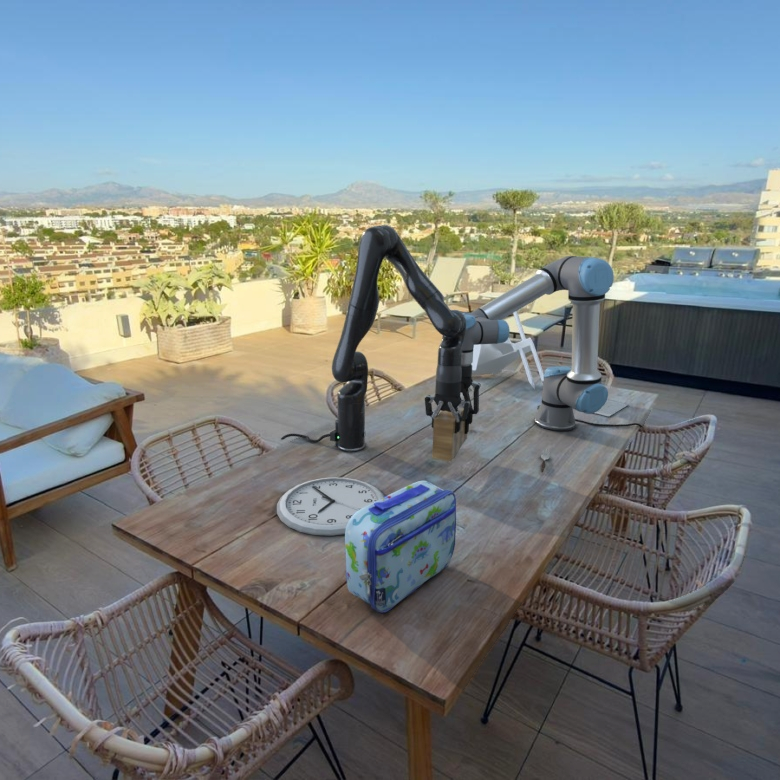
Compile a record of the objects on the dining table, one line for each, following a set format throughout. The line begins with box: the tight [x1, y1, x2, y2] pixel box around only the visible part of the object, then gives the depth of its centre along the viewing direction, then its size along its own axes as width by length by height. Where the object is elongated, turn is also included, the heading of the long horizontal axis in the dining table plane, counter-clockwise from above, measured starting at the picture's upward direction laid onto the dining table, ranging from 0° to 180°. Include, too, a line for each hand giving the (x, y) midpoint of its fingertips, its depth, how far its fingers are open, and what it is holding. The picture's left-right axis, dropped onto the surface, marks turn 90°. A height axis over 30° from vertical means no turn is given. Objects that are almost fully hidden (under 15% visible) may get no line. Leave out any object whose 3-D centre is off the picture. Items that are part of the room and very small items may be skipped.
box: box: [431, 404, 469, 462], centre depth 167 cm, size 20×6×13 cm, turn 158°
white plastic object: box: [471, 310, 545, 390], centre depth 260 cm, size 37×45×31 cm
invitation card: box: [594, 399, 629, 418], centre depth 226 cm, size 21×1×15 cm
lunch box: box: [344, 480, 457, 614], centre depth 109 cm, size 26×11×21 cm, turn 135°
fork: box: [540, 448, 551, 473], centre depth 170 cm, size 3×16×2 cm, turn 160°
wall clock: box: [276, 476, 386, 537], centre depth 142 cm, size 30×2×30 cm
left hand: (445, 430), depth 160 cm, fingers closed on box, 6 cm apart
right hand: (456, 430), depth 174 cm, fingers closed on box, 6 cm apart
